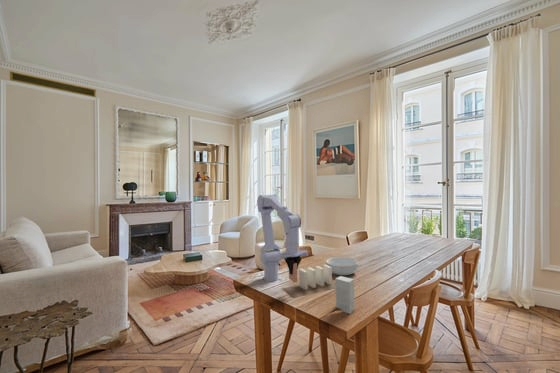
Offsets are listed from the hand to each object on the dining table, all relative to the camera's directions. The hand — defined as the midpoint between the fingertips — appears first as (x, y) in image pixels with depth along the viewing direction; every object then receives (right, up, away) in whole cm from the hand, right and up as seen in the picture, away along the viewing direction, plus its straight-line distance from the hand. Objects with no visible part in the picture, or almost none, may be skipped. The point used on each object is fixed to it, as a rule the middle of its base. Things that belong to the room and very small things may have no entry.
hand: (293, 273), depth 110 cm
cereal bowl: (+28, -10, +27) cm, 40 cm away
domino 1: (+5, -9, +7) cm, 12 cm away
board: (+9, -10, +7) cm, 15 cm away
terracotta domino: (0, -3, 0) cm, 3 cm away
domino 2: (+9, -9, +9) cm, 16 cm away
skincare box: (+20, -10, -13) cm, 25 cm away
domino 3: (+13, -9, +11) cm, 19 cm away
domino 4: (+17, -9, +13) cm, 23 cm away
